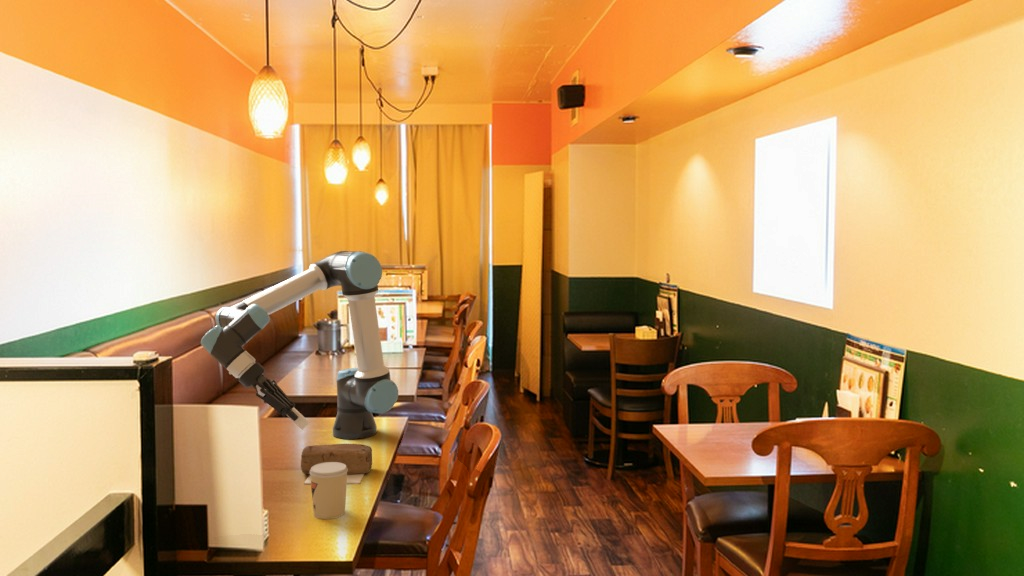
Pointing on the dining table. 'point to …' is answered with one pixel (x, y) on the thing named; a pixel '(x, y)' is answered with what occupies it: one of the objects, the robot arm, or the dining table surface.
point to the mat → (350, 478)
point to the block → (338, 457)
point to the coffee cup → (328, 489)
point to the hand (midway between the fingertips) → (305, 426)
